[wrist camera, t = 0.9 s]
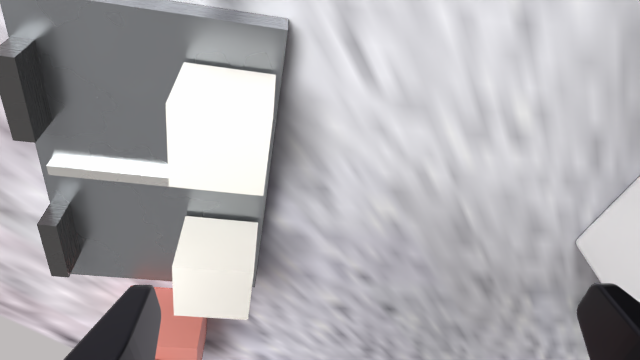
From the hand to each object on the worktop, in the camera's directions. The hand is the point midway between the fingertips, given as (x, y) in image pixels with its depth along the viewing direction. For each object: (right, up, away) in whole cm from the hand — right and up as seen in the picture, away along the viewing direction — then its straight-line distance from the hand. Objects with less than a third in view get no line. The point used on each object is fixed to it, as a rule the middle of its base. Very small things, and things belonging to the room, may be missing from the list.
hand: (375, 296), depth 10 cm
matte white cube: (-6, -1, +14) cm, 16 cm away
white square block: (-5, +5, +9) cm, 12 cm away
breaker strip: (-9, +3, +12) cm, 15 cm away
